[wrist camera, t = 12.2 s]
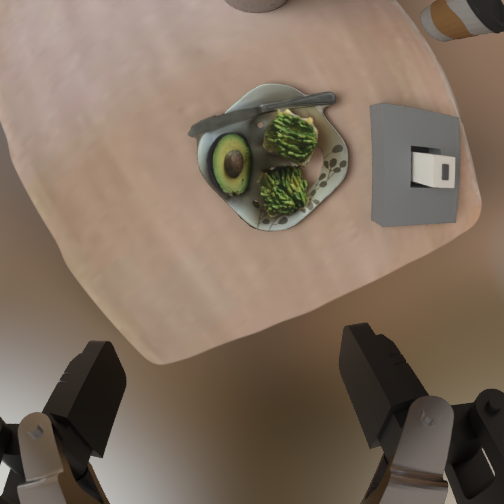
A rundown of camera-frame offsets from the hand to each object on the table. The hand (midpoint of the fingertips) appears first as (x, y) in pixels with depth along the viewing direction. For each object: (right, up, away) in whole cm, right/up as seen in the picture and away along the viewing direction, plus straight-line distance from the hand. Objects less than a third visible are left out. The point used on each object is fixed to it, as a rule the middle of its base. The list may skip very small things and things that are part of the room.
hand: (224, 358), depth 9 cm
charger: (+24, +16, +25) cm, 38 cm away
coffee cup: (+30, +40, +17) cm, 53 cm away
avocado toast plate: (+3, +15, +25) cm, 30 cm away
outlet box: (+24, +16, +25) cm, 38 cm away
